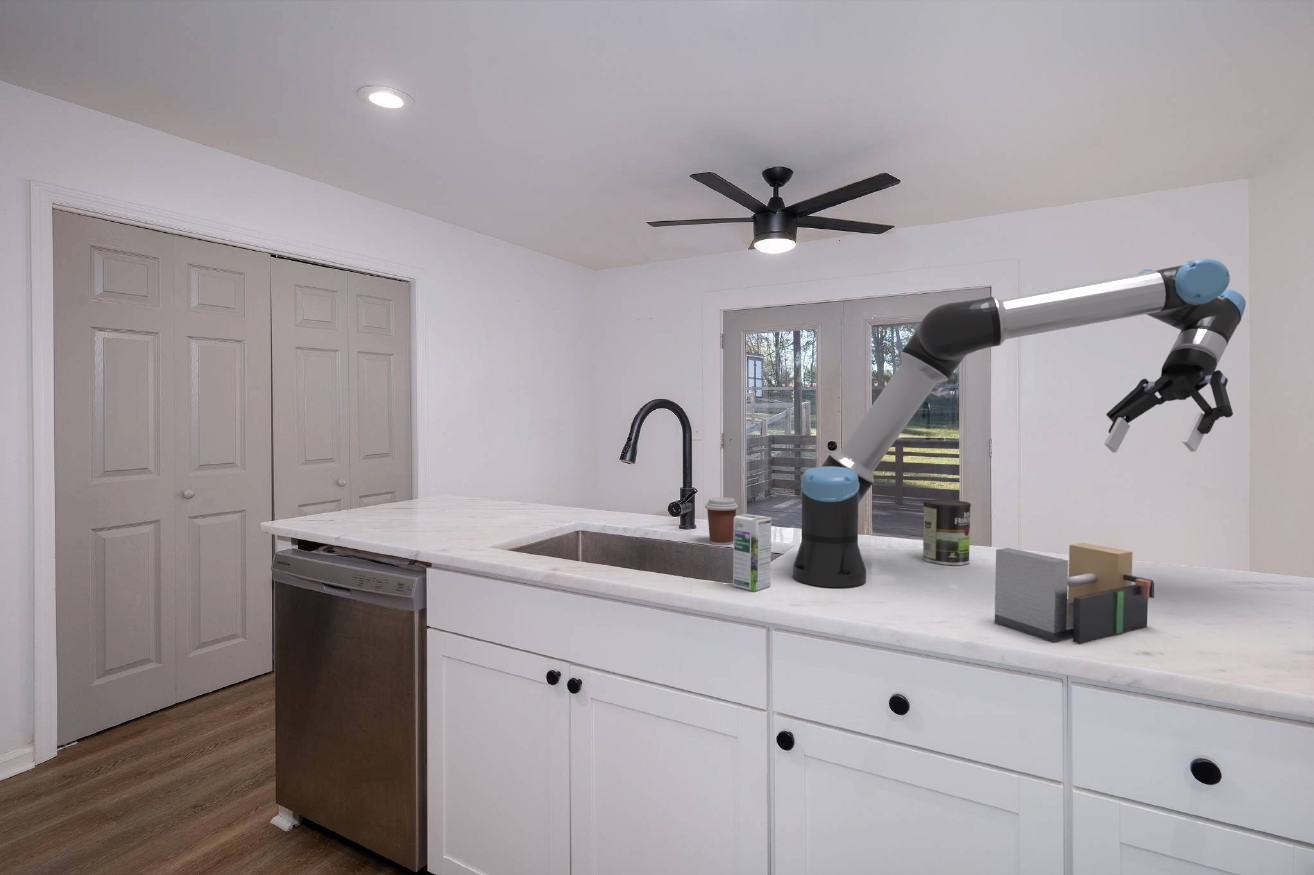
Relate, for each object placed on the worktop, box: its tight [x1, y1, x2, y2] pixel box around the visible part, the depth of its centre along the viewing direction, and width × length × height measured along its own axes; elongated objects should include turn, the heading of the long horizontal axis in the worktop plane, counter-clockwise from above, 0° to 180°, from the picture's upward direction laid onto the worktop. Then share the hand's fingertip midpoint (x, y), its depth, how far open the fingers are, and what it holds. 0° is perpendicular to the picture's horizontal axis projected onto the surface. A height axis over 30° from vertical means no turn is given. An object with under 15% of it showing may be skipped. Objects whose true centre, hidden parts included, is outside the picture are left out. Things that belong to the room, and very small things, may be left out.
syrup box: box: [732, 513, 772, 593], centre depth 127 cm, size 6×6×14 cm
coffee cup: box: [704, 496, 740, 546], centre depth 169 cm, size 9×9×12 cm
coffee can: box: [922, 499, 972, 566], centre depth 148 cm, size 10×10×14 cm
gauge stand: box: [994, 547, 1149, 645], centre depth 104 cm, size 22×12×12 cm, turn 115°
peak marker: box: [1134, 579, 1151, 600], centre depth 101 cm, size 1×2×3 cm, turn 25°
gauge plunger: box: [1067, 542, 1155, 602], centre depth 105 cm, size 10×12×10 cm
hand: (1147, 447), depth 114 cm, fingers open, 13 cm apart
